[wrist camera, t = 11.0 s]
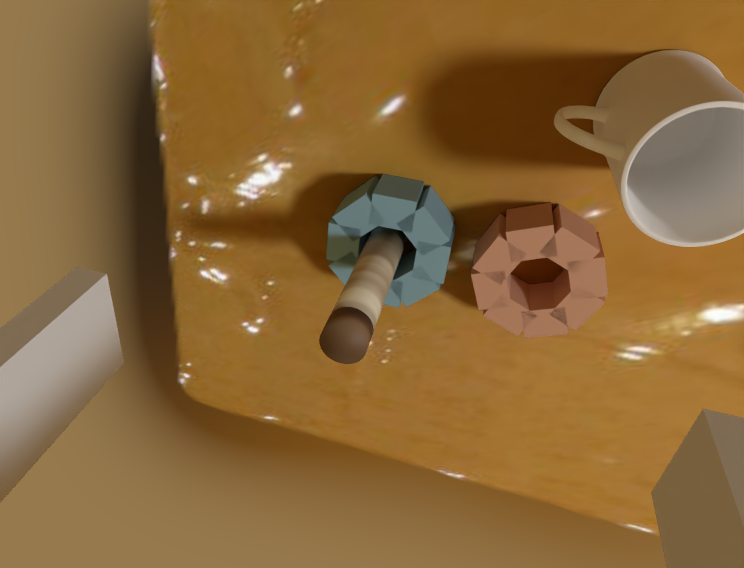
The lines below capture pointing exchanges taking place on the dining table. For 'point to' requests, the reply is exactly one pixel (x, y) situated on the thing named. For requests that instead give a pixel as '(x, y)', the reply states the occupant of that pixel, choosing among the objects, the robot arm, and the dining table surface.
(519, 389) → the dining table surface
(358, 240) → the bead
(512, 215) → the bead terracotta
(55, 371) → the robot arm
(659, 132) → the mug
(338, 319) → the wooden dowel handle
